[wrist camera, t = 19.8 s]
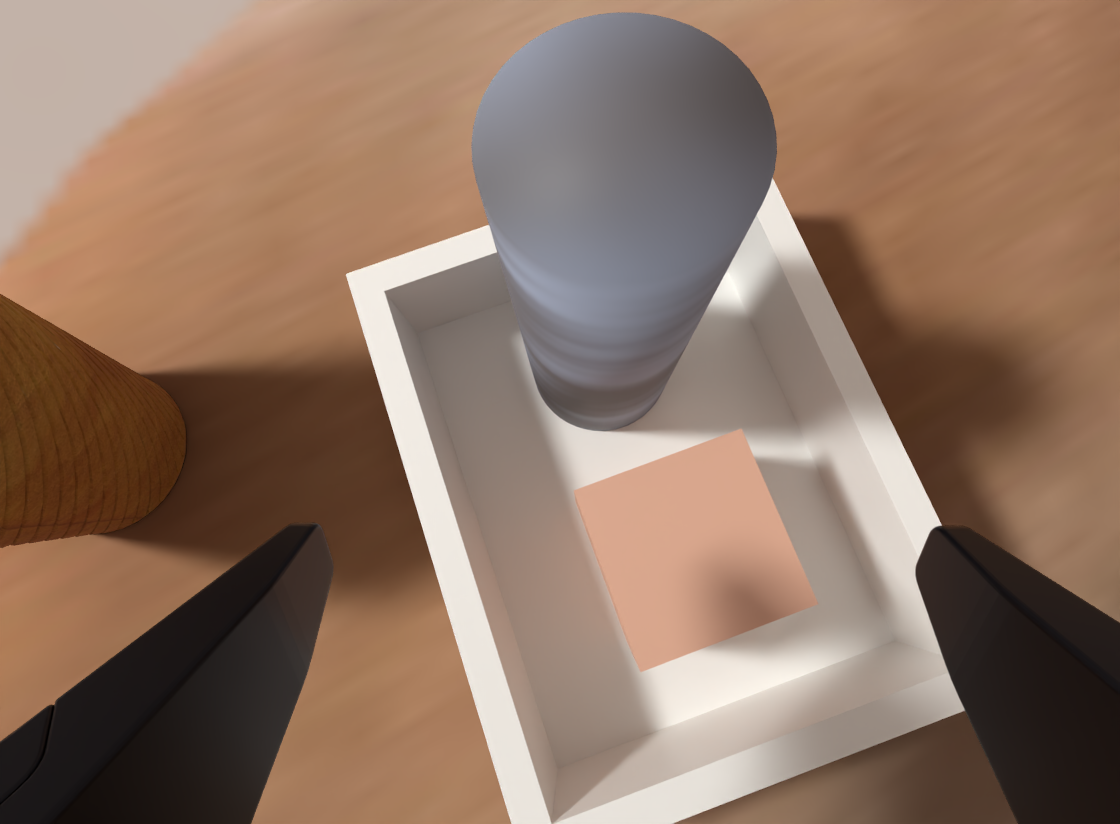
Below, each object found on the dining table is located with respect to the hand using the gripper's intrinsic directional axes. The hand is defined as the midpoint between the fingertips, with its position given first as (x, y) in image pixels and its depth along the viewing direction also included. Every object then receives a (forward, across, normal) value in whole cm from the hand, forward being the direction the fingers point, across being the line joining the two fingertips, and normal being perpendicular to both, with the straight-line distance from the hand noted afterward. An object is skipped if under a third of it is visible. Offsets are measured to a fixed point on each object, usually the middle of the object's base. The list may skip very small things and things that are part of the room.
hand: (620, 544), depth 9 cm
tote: (+11, -2, +8) cm, 14 cm away
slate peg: (+14, 0, +4) cm, 14 cm away
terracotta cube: (+9, -2, +9) cm, 13 cm away
